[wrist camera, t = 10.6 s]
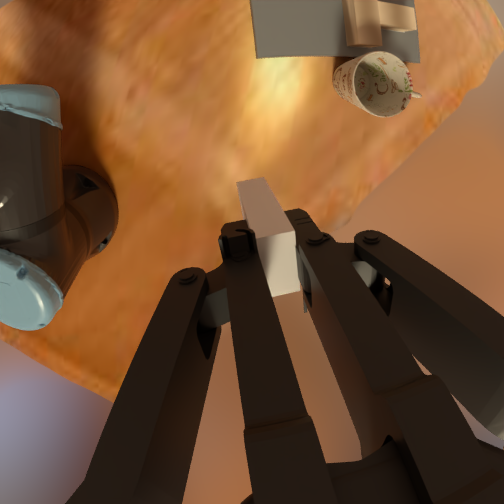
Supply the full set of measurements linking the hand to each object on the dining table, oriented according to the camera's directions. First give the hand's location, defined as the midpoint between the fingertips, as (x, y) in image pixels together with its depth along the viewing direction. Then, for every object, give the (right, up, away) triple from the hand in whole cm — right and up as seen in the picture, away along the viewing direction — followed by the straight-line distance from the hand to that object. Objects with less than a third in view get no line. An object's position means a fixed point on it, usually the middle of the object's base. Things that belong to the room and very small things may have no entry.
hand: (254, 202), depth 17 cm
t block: (+17, +30, +16) cm, 38 cm away
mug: (+16, +22, +23) cm, 35 cm away
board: (+12, +30, +17) cm, 37 cm away
